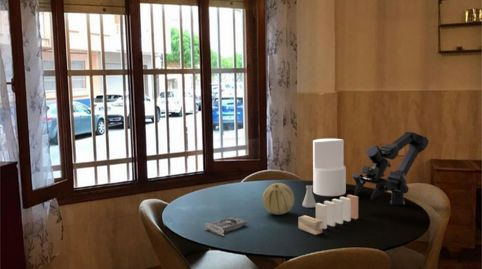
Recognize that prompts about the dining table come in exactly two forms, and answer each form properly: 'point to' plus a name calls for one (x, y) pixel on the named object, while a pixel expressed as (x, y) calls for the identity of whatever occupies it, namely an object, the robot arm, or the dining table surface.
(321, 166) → the cylinder
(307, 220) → the block
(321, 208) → the domino
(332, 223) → the domino
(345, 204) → the domino
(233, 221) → the graphics card
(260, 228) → the dining table surface
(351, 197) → the domino
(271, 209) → the cantaloupe
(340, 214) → the domino
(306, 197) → the flask
